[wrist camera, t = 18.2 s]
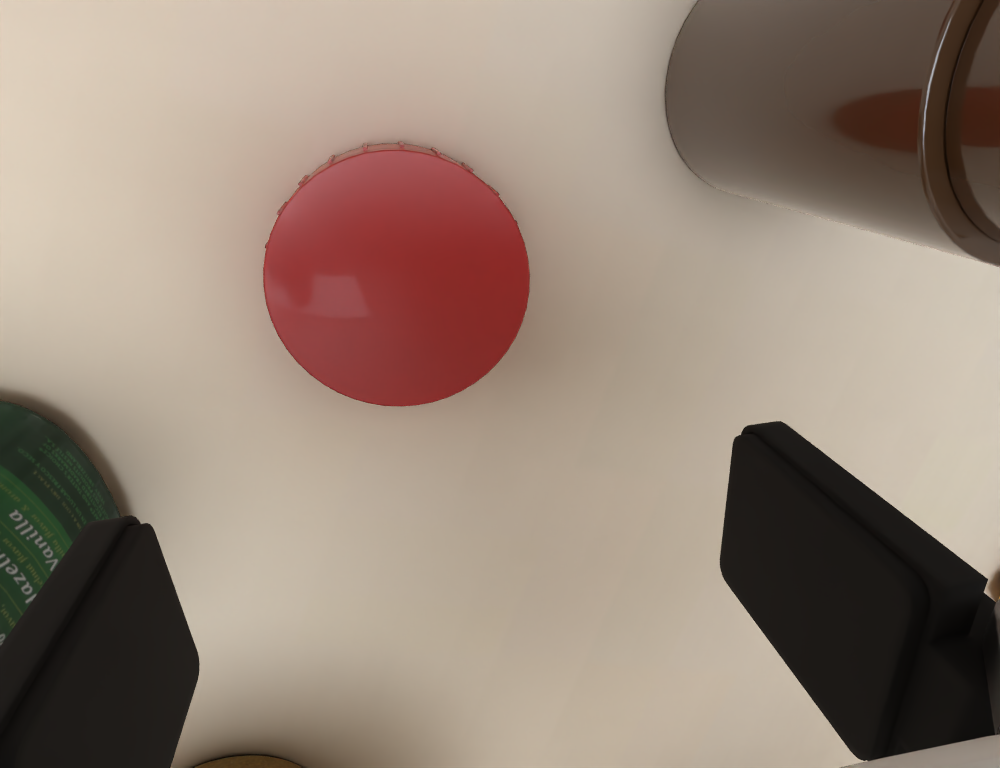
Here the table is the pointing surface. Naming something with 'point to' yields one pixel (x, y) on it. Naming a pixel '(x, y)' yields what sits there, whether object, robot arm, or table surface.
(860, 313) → the table surface
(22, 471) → the coffee jar
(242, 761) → the plant pot
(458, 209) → the lid
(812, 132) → the jar
